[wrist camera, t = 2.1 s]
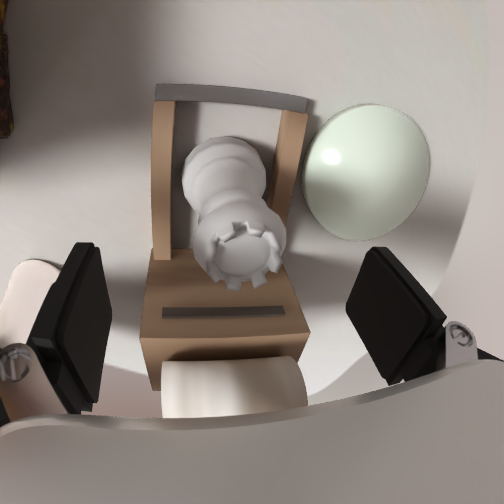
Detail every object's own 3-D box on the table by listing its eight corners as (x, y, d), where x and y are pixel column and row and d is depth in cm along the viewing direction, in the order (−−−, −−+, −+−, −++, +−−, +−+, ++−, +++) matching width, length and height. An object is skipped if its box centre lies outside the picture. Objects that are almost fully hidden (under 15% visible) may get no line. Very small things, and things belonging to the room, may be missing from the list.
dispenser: (153, 84, 12) (44, 127, 3) (307, 97, 14) (478, 176, 5) (156, 305, 20) (153, 460, 11) (264, 304, 22) (306, 447, 13)
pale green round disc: (318, 87, 14) (325, 89, 13) (434, 124, 16) (443, 128, 15) (288, 230, 19) (292, 239, 18) (397, 235, 21) (403, 242, 20)
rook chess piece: (277, 156, 16) (338, 232, 9) (238, 220, 18) (266, 322, 11) (204, 120, 14) (212, 170, 7) (168, 191, 16) (153, 290, 9)
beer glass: (75, 255, 17) (11, 489, 5) (93, 326, 21) (71, 511, 9) (-2, 251, 15) (-85, 435, 3) (24, 318, 19) (-18, 479, 7)
